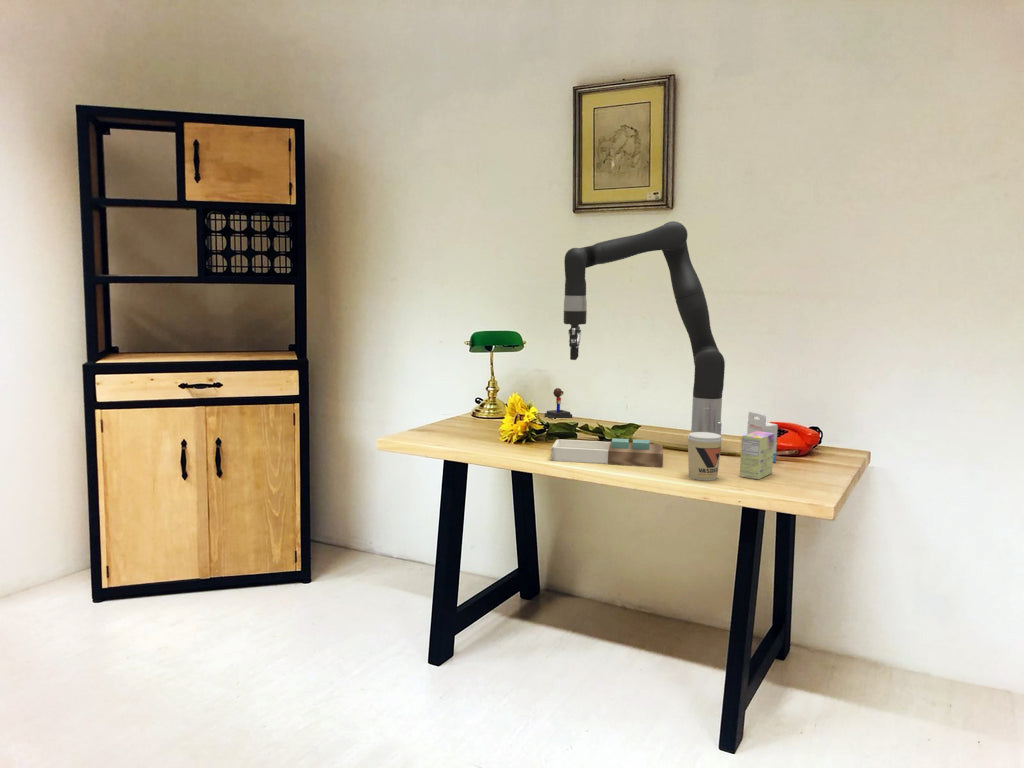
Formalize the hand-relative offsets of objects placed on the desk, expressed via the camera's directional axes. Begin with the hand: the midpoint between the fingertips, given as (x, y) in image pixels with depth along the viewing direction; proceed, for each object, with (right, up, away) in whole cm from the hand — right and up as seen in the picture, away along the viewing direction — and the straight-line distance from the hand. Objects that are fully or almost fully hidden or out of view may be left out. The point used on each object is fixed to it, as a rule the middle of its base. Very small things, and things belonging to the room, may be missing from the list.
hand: (574, 358), depth 253 cm
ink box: (+56, -32, -18) cm, 67 cm away
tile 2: (+19, -28, -21) cm, 40 cm away
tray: (+1, -31, -18) cm, 36 cm away
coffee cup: (+33, -35, -40) cm, 62 cm away
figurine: (-2, -22, +52) cm, 57 cm away
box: (+49, -35, -36) cm, 70 cm away
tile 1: (+12, -28, -20) cm, 36 cm away
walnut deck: (+17, -32, -21) cm, 41 cm away
